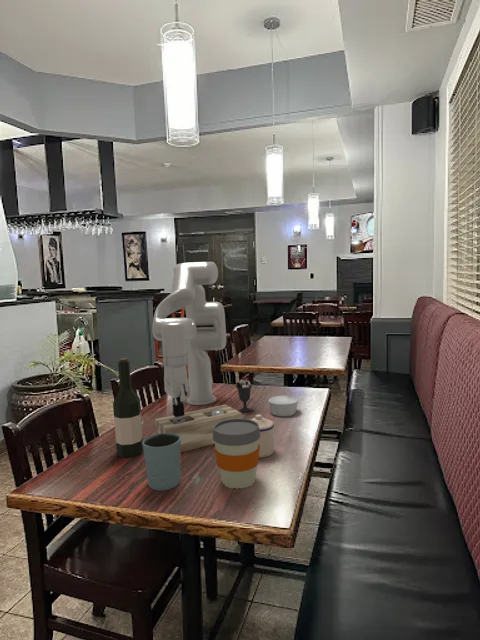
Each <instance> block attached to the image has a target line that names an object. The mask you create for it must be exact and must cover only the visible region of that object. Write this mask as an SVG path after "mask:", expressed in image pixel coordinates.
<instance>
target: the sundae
mask: <svg viewBox="0 0 480 640" xmlns="http://www.w3.org/2000/svg"><path fill="white" fill-rule="evenodd" d="M252 387H253V384H251V381H249V378H248V372H245V375H244V376H242V377H241V378H240V379H239V380H238V381H237V382H236V385H235V388H236V389H237V393H238V398H239V400H240V401H241V402H242V404H243V407H242V408H240V409H238V412H240V413H242V414H243V413H250V412H251V411H252V409H251V408H249V407H248V406H247V402H248V401H249V400H250V398H251V391H252V390H251V389H252Z"/></svg>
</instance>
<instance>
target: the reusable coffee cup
mask: <svg viewBox="0 0 480 640" xmlns="http://www.w3.org/2000/svg"><path fill="white" fill-rule="evenodd" d="M259 438H260V430H259V424H258V423H257V422H255V421H253V420H251V419H248V418H242V419H228V420H224V421H221V422H218V423H216V424H215V425H214V427H213V440H214V441H215V444H214V447H213V450H214V454H215V460H216V465H217V467H218V469H219V473H220V478H221V480H220V481H221V483H223V484H224V485H225V486H224V485H223V484H222V485H223V486H224V487H226V486H227V487H226V488H229V489H233V488H236V489H235V490H237V489H238V488H241V489H246V488H249V487H250V485H251V486H253V485H254V484H255V483H256V477H257V475H256V474H257V466H258V465H259V460H260V459H259V458H260V457H259V450H260V445H259ZM253 483H254V484H253ZM248 486H249V487H248ZM245 487H246V488H245ZM238 490H239V489H238Z"/></svg>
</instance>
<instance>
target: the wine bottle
mask: <svg viewBox="0 0 480 640" xmlns="http://www.w3.org/2000/svg"><path fill="white" fill-rule="evenodd" d="M128 359H129V358H127V357H122V358H119V359H118V362H117V366H118V367H117V368H118V380H119V389H118V392H117V395H116V396H115V398H114V400H113V402H112V408H113V420H114V421H113V422H114V435H115V446H116V449H115V450H116V455H117V456H118V457H120V458H123V459H129V458H135V457H137V456H139V455H142V454H143V453H144V449H143V444H142V442H143V440H144V437H143V423H142V422H143V421H142V409H141V408H142V407H141V398H140V397H139V395H138V394H137V393H136V391H134V389H133V388H132V381H131V380H132V379H131V367H130V360H128Z"/></svg>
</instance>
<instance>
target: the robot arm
mask: <svg viewBox="0 0 480 640" xmlns="http://www.w3.org/2000/svg"><path fill="white" fill-rule="evenodd" d="M218 278H219V269H218V266H217V263H215V262H214V261H194V262H193V261H192V262H187V261H186V262H182V263H177V264H176V265H174V267H173V279H172V283H171V291H170V294H169V295H167V296H166V297H165V298H164V299H162V301H160V303H159V304H158V305H157V306H156V308H155V311H154V315H153V320H152V327H151V331H152V337H154V339H155V340H157V341H160V342H161V344H162V359H163V360H162V361H163V367H164V369H163V373H164V375H163V376H164V377H163V379H164V380H163V382H164V385H163V386H164V387H163V388H164V392H165V393H166V394H167V395H168V396H170V397H171V403H172V413H173V414H172V416H173V415H174V416H175V417H179V416H184V413H185V402H186V403H187V404H188V405H191V406H206V405H210V404H213V403H215V402H216V401H217V397H216V396H215V395H213V386H212V385H213V381H212V363H211V358H210V356H209V355H208V354H207V352H206V351H220V350H223V349H225V348H226V346H227V329H226V328H227V327H226V313H225V308H224V305H223V304H222V302H219V301H207V300H206V291H205V287H203V286H205V285H206V286H207V285H213V284H215V283H216V282H217V280H218ZM184 308H185V316H186V317H169V318H167V317H168V316H169V315H171V314H173V313H174V312H178V311H179V310H182V309H184ZM209 325H210V326H212V327H197V326H209ZM187 367H188V371H187ZM187 372H188V373H187ZM188 395H189V397H187V396H188ZM186 397H187V398H186Z"/></svg>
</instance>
